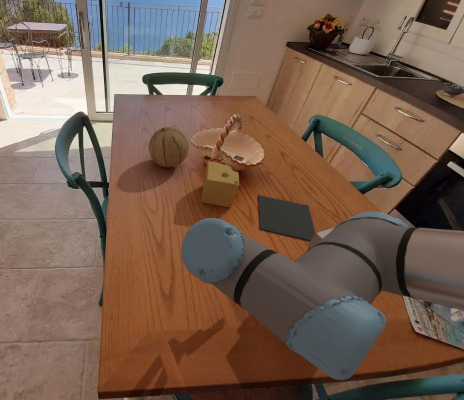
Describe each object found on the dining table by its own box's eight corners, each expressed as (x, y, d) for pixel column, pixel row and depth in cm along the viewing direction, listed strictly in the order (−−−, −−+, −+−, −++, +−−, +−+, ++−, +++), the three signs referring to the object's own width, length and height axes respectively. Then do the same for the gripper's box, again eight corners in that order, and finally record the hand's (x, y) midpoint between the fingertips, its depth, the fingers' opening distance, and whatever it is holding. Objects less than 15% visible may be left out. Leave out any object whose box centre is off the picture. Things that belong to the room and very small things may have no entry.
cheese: (231, 189, 94) (239, 165, 87) (231, 209, 86) (240, 186, 79) (201, 183, 95) (207, 160, 88) (199, 203, 87) (205, 179, 80)
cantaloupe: (191, 172, 100) (199, 136, 90) (154, 177, 96) (157, 140, 86) (177, 151, 110) (182, 117, 100) (143, 155, 107) (145, 120, 97)
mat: (317, 242, 77) (317, 241, 77) (259, 229, 80) (260, 228, 80) (307, 206, 89) (308, 205, 89) (258, 195, 92) (258, 194, 91)
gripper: (194, 228, 51) (238, 254, 65) (288, 370, 34) (319, 364, 48) (225, 202, 48) (263, 235, 63) (342, 340, 32) (357, 342, 46)
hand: (287, 291), depth 55 cm, fingers open, 13 cm apart
